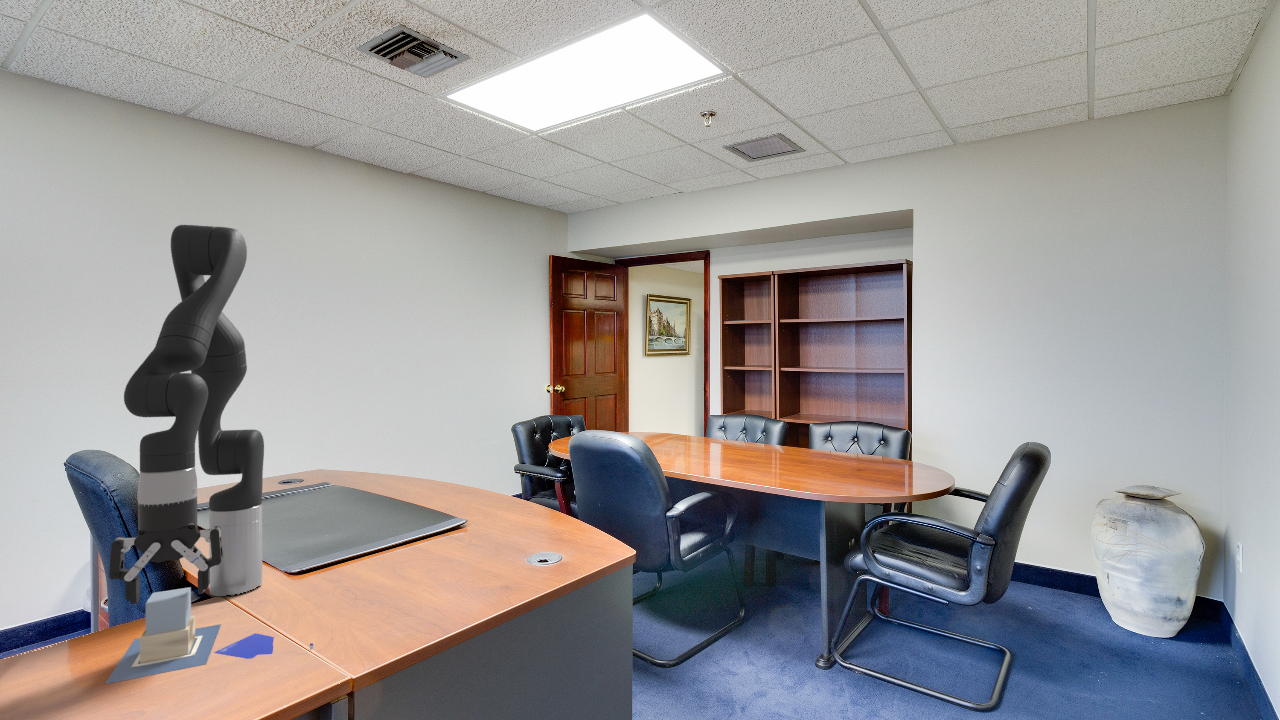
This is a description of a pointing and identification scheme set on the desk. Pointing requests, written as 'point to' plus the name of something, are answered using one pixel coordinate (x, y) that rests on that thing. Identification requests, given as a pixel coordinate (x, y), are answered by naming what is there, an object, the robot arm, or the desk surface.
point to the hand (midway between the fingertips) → (168, 597)
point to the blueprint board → (196, 657)
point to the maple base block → (167, 643)
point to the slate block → (168, 611)
